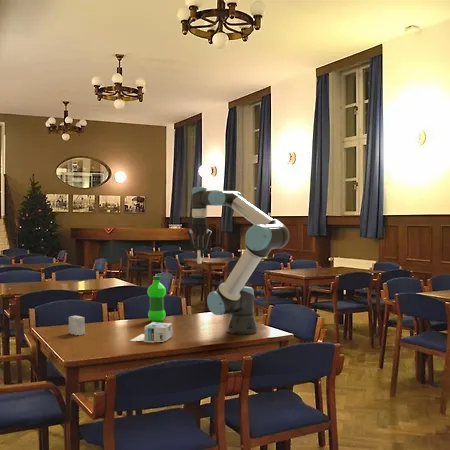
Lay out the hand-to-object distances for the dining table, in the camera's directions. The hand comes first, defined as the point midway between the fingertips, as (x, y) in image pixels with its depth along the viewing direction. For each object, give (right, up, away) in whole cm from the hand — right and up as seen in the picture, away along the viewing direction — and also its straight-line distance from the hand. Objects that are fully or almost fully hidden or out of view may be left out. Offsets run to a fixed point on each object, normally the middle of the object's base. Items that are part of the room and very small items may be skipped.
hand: (199, 263), depth 294 cm
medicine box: (-61, -35, -8) cm, 71 cm away
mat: (-22, -35, -19) cm, 45 cm away
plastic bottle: (-25, -34, +25) cm, 49 cm away
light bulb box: (-13, -31, -21) cm, 40 cm away
